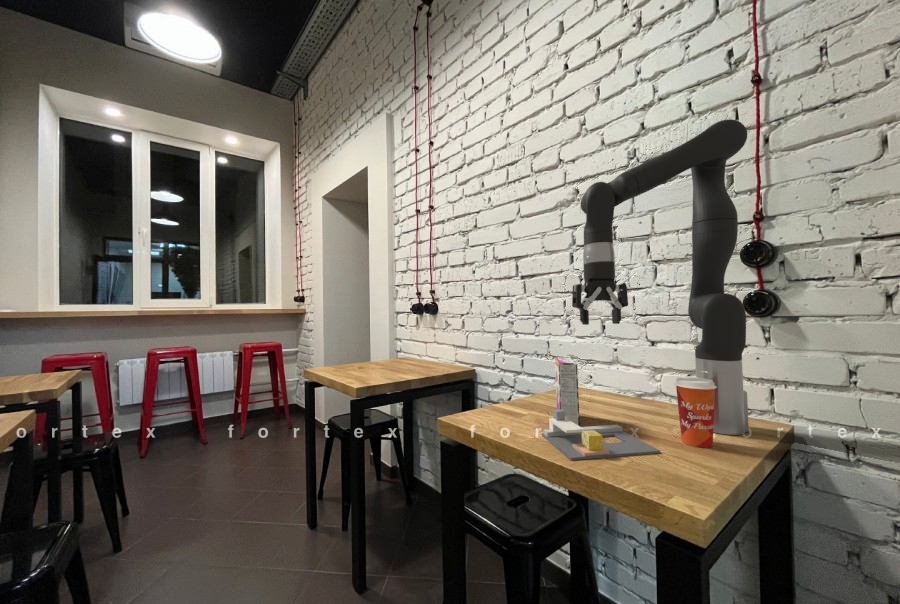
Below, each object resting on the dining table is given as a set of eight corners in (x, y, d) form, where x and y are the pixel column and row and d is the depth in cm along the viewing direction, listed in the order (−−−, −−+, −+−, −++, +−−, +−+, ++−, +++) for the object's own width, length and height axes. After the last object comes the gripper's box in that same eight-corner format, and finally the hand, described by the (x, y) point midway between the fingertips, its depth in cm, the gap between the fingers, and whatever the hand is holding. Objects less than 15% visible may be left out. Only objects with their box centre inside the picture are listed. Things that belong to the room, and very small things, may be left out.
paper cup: (680, 447, 76) (678, 381, 76) (673, 435, 83) (670, 375, 84) (725, 452, 73) (722, 383, 74) (713, 439, 80) (710, 377, 81)
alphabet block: (594, 444, 76) (594, 429, 76) (603, 449, 73) (602, 434, 73) (581, 445, 75) (581, 430, 76) (588, 450, 72) (588, 435, 72)
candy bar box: (555, 414, 102) (554, 357, 103) (574, 414, 101) (572, 357, 102) (559, 426, 91) (558, 362, 92) (580, 427, 90) (578, 362, 91)
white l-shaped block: (565, 427, 85) (564, 408, 85) (584, 441, 77) (583, 419, 77) (549, 429, 85) (549, 409, 85) (566, 442, 76) (566, 420, 76)
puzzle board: (617, 430, 88) (617, 423, 88) (660, 453, 73) (660, 445, 73) (541, 435, 85) (541, 429, 85) (571, 460, 70) (570, 452, 70)
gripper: (615, 263, 97) (617, 323, 97) (566, 263, 95) (568, 324, 95) (633, 259, 90) (635, 324, 89) (580, 259, 88) (582, 325, 87)
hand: (600, 324), depth 92 cm, fingers open, 8 cm apart
